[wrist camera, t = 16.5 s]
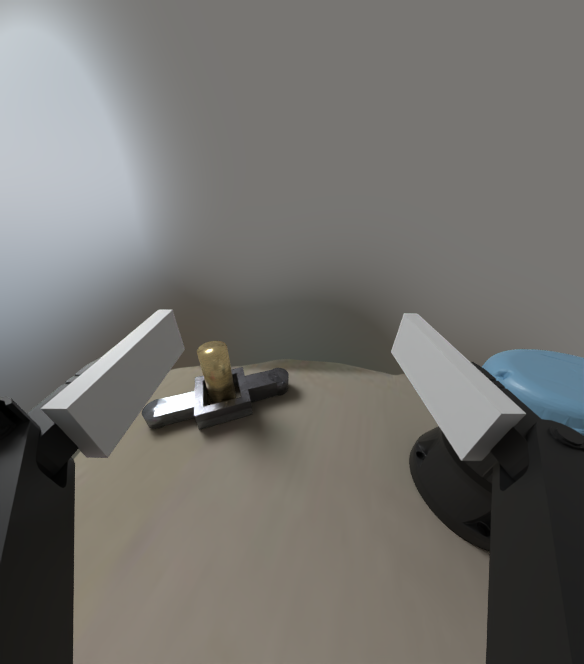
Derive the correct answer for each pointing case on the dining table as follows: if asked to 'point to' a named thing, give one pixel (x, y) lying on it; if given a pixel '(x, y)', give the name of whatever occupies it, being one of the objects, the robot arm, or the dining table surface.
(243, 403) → the chain end
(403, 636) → the dining table surface
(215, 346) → the gold tall cylinder
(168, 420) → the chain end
